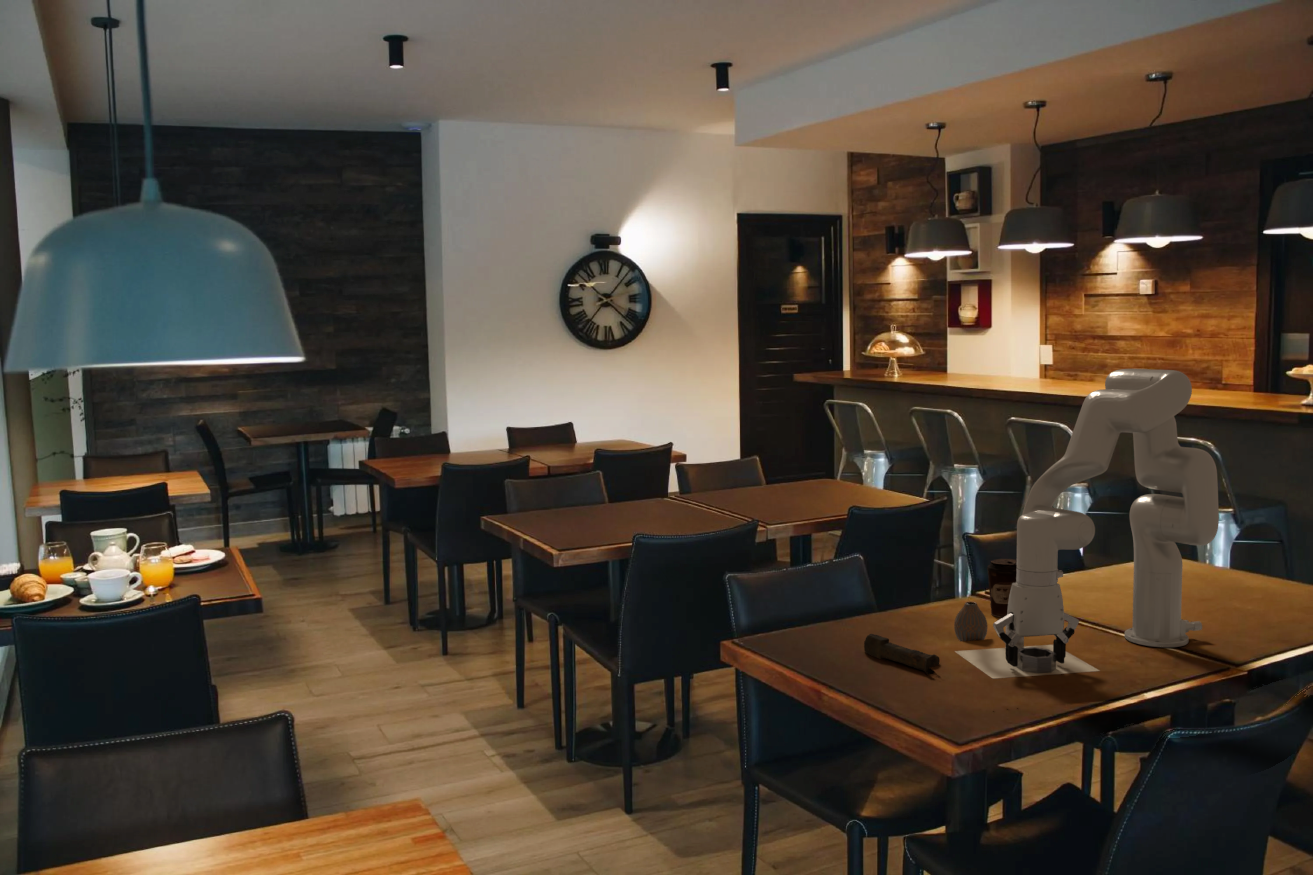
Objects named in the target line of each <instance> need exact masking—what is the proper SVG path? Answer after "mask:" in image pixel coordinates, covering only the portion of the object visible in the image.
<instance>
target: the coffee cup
mask: <svg viewBox="0 0 1313 875" xmlns="http://www.w3.org/2000/svg"><path fill="white" fill-rule="evenodd" d="M986 570H987V576H988V578H987V579H988V588H989V589H988V592H989V593H988V594H989V601H990V602H989V603H990V609H991V610H990V611H991V612H990V613H991V615H992V617H993V616H994V617H998V618H1003V617H1005V616H1006V615H1007V610H1008V601H1009V595H1010V590H1011V586H1012V583H1016V574H1017V559H1014V558H1013V559H1012V558H998V559H993V560H990V563H989V564H988V565H987V567H986Z"/></svg>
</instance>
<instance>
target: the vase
mask: <svg viewBox="0 0 1313 875" xmlns="http://www.w3.org/2000/svg"><path fill="white" fill-rule="evenodd" d="M953 629H954V633H955V635H956V638H957V639H958V641H959V642H971V641H985V639H986V636H987V634H988V622H987V618H986V615H985V614H984V613H983V611H982V610H981V609H980V608H979V606H978V603H977V602H975V601H966V602H965V603H964V605H963V606H962V608H961V609H960V610H959V611H958V612H957V614H956V616H955V619H954V628H953Z"/></svg>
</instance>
